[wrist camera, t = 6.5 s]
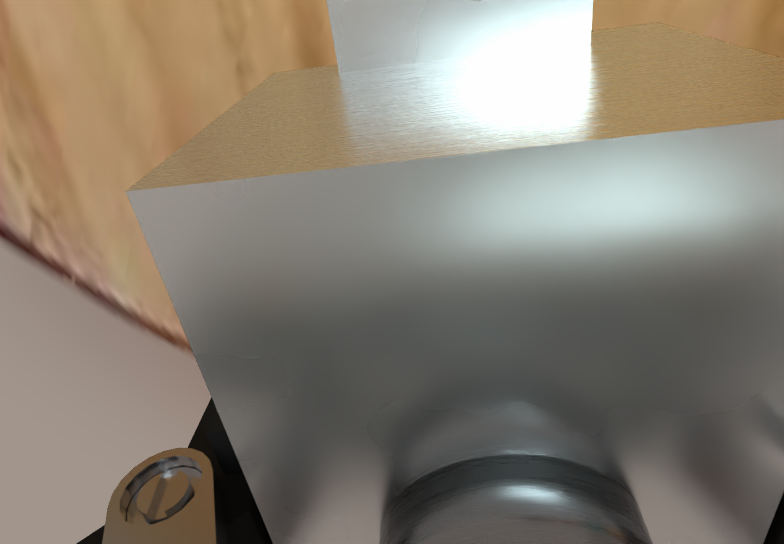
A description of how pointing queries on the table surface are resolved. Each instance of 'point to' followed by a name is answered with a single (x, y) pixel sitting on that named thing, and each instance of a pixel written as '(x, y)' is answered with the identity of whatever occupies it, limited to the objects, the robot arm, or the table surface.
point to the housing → (492, 280)
